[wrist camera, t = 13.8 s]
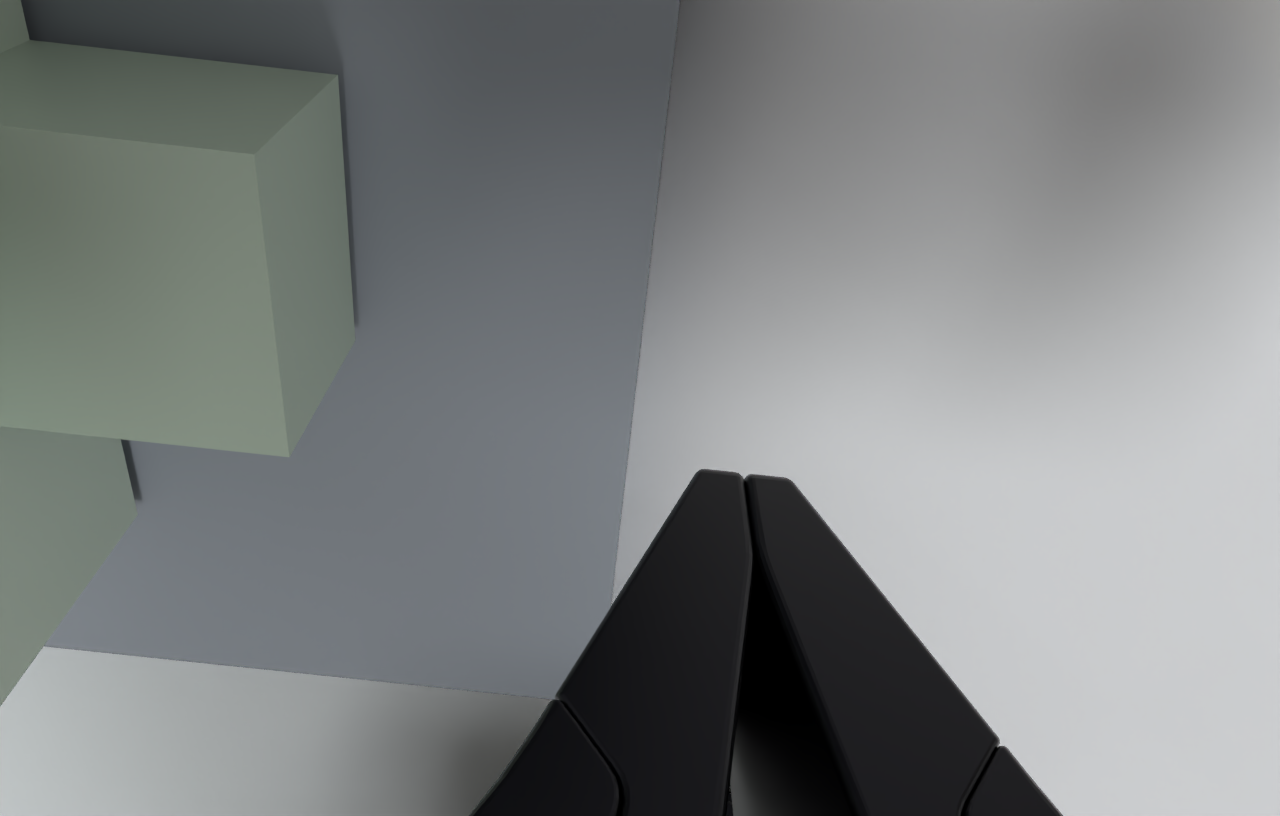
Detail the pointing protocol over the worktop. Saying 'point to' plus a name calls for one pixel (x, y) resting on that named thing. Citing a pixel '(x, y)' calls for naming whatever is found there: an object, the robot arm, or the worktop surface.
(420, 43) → the board
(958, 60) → the worktop surface
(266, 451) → the housing
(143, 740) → the worktop surface
